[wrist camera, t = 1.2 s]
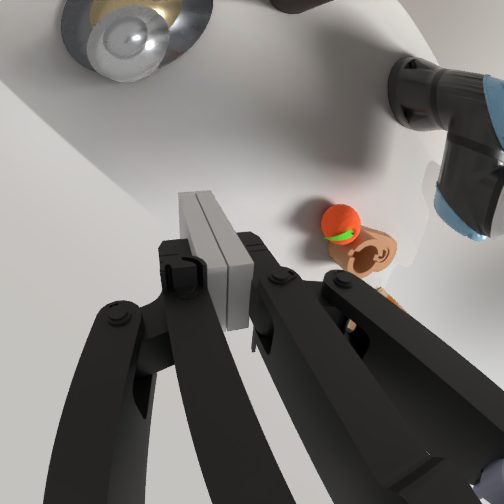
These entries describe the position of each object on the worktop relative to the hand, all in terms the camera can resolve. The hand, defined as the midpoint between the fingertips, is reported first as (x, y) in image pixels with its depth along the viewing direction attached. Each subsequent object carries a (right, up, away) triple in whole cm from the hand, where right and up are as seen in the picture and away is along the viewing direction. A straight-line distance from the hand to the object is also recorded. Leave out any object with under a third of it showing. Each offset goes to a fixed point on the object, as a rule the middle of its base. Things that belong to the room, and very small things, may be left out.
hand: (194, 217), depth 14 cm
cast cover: (-12, +23, +12) cm, 29 cm away
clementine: (+16, +5, +36) cm, 40 cm away
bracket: (+25, 0, +43) cm, 50 cm away
